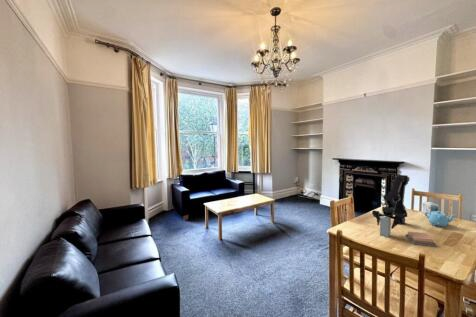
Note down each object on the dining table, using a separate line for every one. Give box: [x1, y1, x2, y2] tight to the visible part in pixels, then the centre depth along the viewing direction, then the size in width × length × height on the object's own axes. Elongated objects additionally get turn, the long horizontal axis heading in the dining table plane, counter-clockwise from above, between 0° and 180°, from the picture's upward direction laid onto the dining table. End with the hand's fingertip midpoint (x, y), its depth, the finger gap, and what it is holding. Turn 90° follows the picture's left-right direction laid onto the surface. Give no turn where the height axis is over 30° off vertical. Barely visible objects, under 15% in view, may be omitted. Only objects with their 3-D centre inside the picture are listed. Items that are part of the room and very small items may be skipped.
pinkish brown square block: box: [404, 231, 437, 248], centre depth 140 cm, size 12×12×4 cm
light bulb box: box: [421, 201, 440, 217], centre depth 186 cm, size 11×7×11 cm, turn 168°
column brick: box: [379, 216, 392, 238], centre depth 150 cm, size 5×5×14 cm
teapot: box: [424, 210, 456, 228], centre depth 165 cm, size 13×14×11 cm
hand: (384, 226), depth 149 cm, fingers open, 8 cm apart
